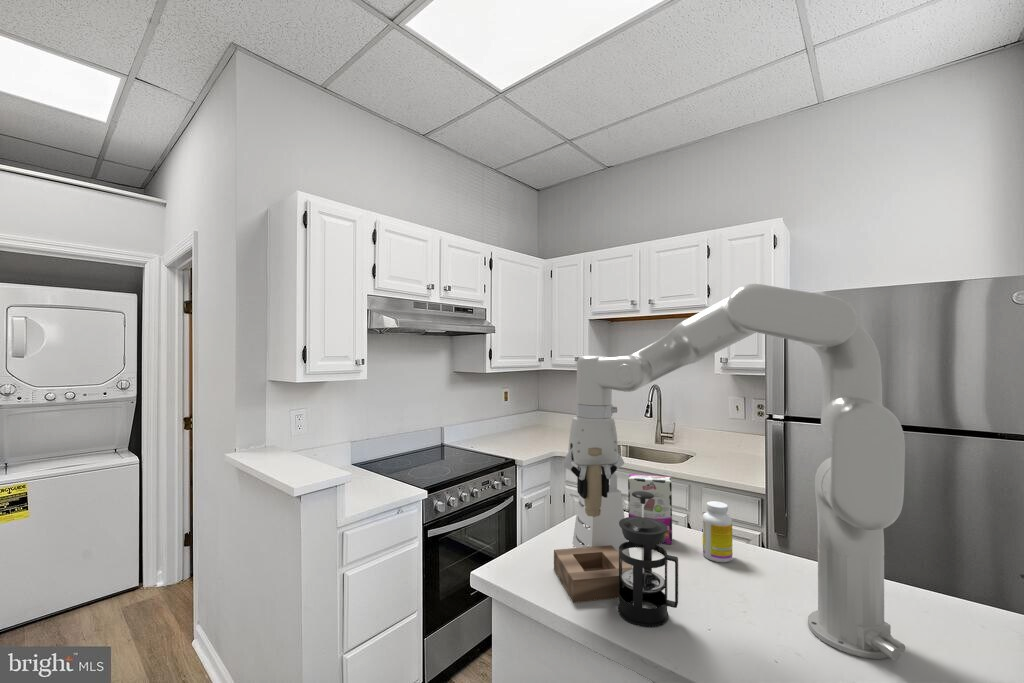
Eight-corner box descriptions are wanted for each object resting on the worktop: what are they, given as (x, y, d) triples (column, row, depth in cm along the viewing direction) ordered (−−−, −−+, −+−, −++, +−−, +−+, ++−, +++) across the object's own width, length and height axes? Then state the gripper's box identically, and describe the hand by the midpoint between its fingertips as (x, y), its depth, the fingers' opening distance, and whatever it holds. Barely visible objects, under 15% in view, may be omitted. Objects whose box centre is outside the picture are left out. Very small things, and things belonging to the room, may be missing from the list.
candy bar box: (671, 537, 124) (671, 476, 124) (672, 545, 119) (672, 481, 119) (628, 532, 127) (629, 472, 128) (627, 539, 123) (627, 477, 123)
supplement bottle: (738, 560, 111) (738, 507, 111) (717, 565, 108) (717, 510, 108) (717, 549, 117) (717, 498, 117) (696, 553, 114) (696, 501, 115)
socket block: (638, 596, 95) (638, 574, 95) (573, 602, 92) (573, 580, 92) (611, 564, 109) (611, 545, 109) (553, 569, 106) (553, 549, 106)
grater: (572, 545, 119) (572, 467, 119) (608, 540, 122) (608, 464, 122) (590, 563, 109) (591, 478, 109) (630, 558, 112) (630, 475, 112)
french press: (608, 617, 87) (608, 495, 87) (621, 594, 95) (621, 482, 96) (673, 636, 82) (673, 505, 82) (681, 609, 90) (681, 491, 90)
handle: (607, 511, 103) (607, 444, 103) (600, 521, 97) (600, 449, 97) (586, 508, 105) (586, 442, 105) (577, 517, 99) (578, 447, 99)
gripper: (622, 409, 106) (621, 489, 106) (552, 410, 103) (551, 492, 103) (637, 414, 99) (636, 500, 98) (562, 415, 96) (561, 504, 95)
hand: (593, 495), depth 101 cm, fingers closed on handle, 4 cm apart
